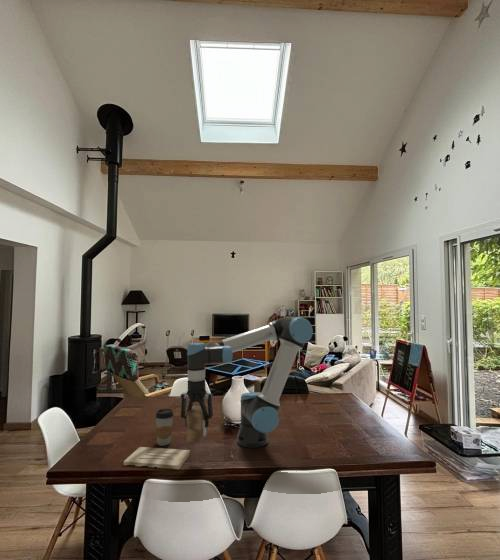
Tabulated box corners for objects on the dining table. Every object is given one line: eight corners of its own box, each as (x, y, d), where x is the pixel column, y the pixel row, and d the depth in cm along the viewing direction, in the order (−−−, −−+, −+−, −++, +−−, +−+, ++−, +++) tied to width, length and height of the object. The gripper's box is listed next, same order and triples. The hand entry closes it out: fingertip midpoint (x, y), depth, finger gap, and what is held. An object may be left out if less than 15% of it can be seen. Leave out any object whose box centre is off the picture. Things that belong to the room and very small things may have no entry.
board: (190, 453, 145) (190, 450, 146) (178, 469, 132) (179, 465, 132) (139, 450, 149) (139, 446, 149) (123, 465, 135) (123, 461, 135)
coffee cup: (155, 447, 151) (155, 414, 152) (155, 440, 159) (155, 409, 160) (173, 445, 154) (174, 413, 155) (172, 438, 162) (173, 407, 163)
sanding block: (206, 434, 142) (206, 406, 143) (200, 443, 133) (200, 413, 134) (193, 433, 143) (193, 405, 143) (186, 442, 134) (186, 412, 135)
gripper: (220, 377, 142) (220, 431, 140) (178, 377, 144) (178, 430, 143) (215, 381, 134) (216, 439, 133) (172, 381, 137) (172, 437, 135)
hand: (197, 434), depth 138 cm, fingers closed on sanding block, 6 cm apart
